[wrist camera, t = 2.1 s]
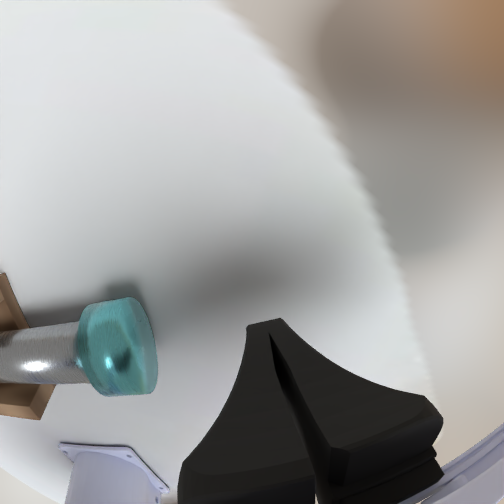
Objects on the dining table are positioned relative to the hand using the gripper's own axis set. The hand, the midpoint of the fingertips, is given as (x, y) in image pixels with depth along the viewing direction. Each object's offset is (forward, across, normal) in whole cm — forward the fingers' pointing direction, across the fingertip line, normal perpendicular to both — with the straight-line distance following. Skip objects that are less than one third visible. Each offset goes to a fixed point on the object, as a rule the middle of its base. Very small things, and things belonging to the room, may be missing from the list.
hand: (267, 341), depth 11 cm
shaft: (+4, +13, 0) cm, 13 cm away
